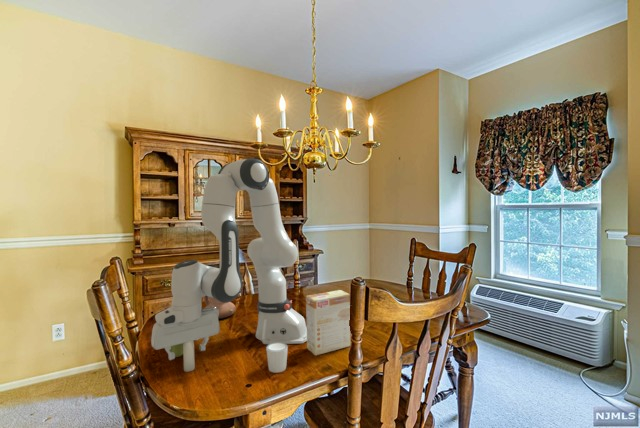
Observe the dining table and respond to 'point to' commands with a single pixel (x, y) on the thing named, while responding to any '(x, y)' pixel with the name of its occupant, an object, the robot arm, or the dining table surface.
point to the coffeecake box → (328, 321)
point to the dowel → (188, 356)
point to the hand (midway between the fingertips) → (187, 354)
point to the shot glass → (277, 356)
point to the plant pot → (177, 349)
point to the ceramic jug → (220, 307)
